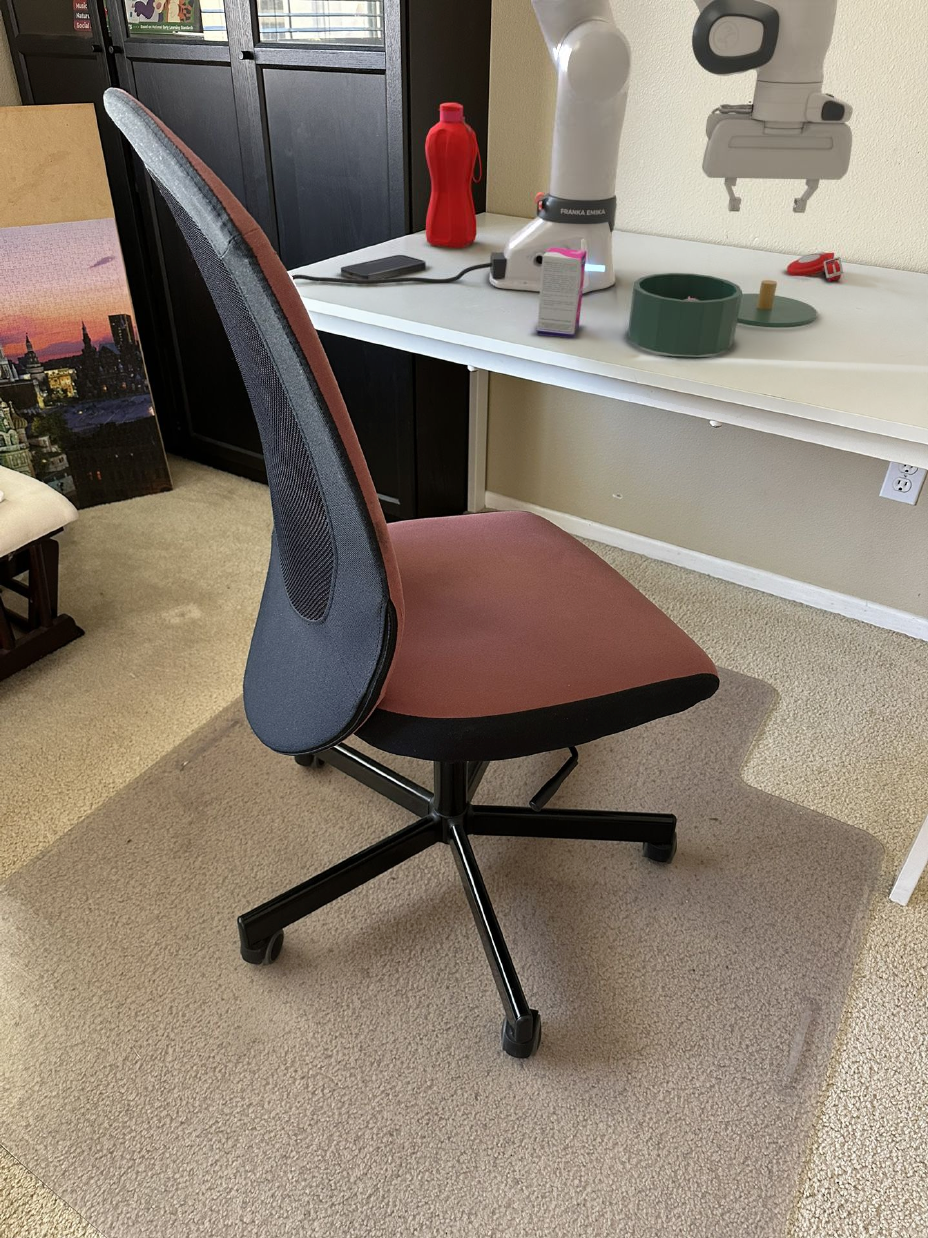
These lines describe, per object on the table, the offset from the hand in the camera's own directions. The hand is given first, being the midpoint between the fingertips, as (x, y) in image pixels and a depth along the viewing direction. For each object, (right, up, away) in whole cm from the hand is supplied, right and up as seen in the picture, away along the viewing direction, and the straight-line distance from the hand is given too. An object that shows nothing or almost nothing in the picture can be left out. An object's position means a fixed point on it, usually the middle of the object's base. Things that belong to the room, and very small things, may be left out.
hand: (765, 211), depth 134 cm
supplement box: (-30, -16, +4) cm, 35 cm away
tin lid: (+4, -11, +12) cm, 16 cm away
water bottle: (-47, +16, +50) cm, 70 cm away
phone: (-60, +3, +32) cm, 68 cm away
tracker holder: (+20, +2, +32) cm, 37 cm away
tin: (-13, -19, +1) cm, 23 cm away
